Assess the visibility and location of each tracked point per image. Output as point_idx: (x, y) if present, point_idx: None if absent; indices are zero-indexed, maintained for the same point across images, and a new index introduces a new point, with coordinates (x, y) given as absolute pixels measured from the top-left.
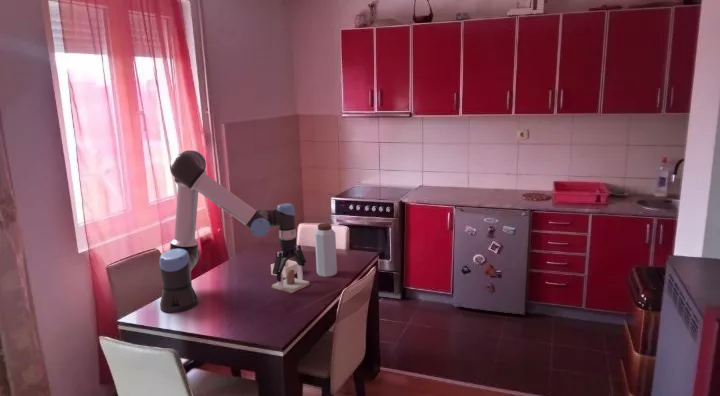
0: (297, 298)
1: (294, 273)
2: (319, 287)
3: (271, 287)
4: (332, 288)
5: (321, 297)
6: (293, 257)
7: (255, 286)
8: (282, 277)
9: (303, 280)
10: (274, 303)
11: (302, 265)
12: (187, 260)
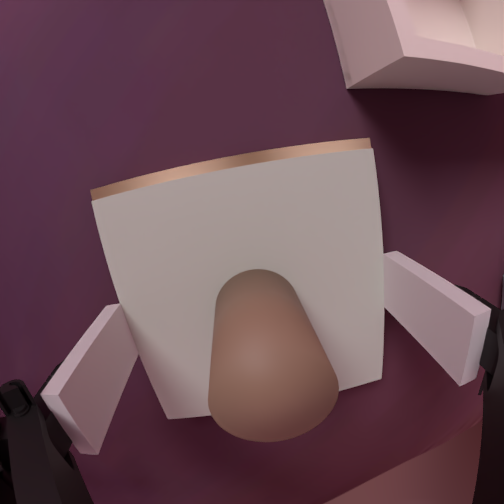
0: (166, 458)
1: (451, 87)
2: (370, 422)
3: (95, 196)
4: (388, 455)
5: (269, 499)
6: (498, 496)
7: (46, 55)
8: (101, 426)
9: (378, 330)
10: None
11: (481, 384)
12: None
